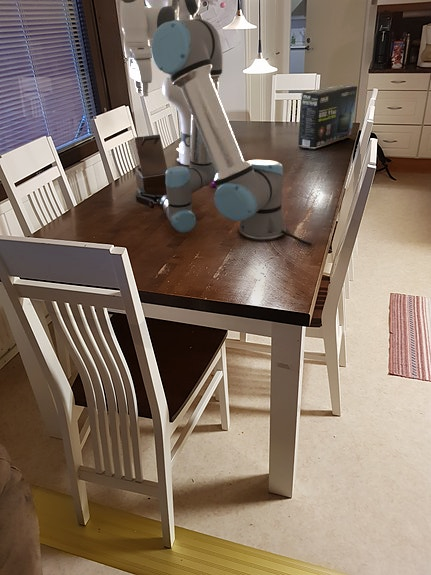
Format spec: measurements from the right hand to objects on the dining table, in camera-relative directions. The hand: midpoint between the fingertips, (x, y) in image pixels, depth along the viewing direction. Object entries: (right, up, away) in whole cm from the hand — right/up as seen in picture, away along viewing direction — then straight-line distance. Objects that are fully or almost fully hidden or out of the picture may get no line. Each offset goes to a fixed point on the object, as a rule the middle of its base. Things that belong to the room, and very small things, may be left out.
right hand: (158, 188), depth 173 cm
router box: (+80, +40, +72) cm, 115 cm away
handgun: (+25, +1, +12) cm, 28 cm away
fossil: (+23, +43, +82) cm, 96 cm away
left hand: (-5, +32, -7) cm, 33 cm away
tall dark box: (-3, +12, +1) cm, 13 cm away
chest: (-4, 0, +12) cm, 13 cm away
